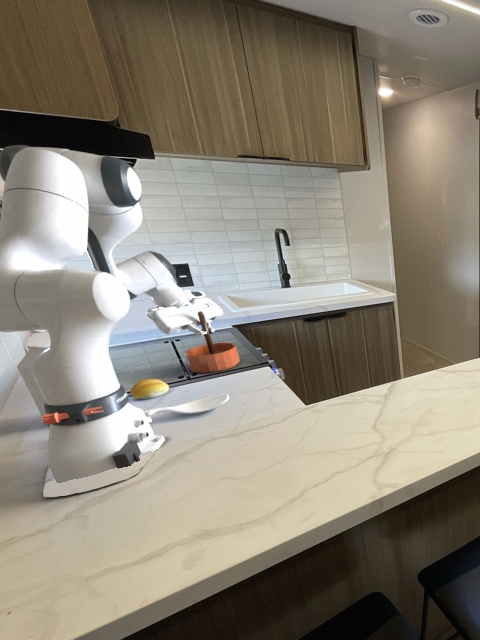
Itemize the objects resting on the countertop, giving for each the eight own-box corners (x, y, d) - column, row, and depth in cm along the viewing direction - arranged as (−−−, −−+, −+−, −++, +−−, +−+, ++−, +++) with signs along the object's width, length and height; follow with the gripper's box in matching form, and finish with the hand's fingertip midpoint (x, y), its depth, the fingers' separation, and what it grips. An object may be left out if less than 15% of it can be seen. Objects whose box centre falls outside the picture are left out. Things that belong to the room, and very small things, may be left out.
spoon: (69, 436, 94) (62, 423, 93) (228, 397, 113) (224, 386, 111) (63, 453, 88) (56, 439, 86) (233, 409, 106) (229, 397, 105)
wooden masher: (224, 361, 135) (209, 312, 128) (204, 364, 132) (188, 314, 126) (224, 356, 139) (210, 308, 133) (205, 359, 137) (190, 310, 130)
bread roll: (137, 403, 110) (132, 390, 108) (129, 394, 115) (124, 381, 114) (174, 393, 116) (169, 380, 114) (165, 385, 121) (160, 373, 120)
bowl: (240, 368, 134) (235, 351, 132) (188, 377, 127) (182, 359, 125) (240, 356, 145) (236, 340, 143) (192, 363, 138) (187, 346, 136)
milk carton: (66, 425, 99) (31, 352, 92) (44, 422, 100) (8, 350, 93) (98, 411, 106) (67, 343, 98) (77, 409, 107) (45, 341, 100)
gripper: (145, 303, 120) (181, 337, 121) (206, 290, 138) (237, 319, 140) (139, 317, 123) (174, 349, 124) (200, 302, 141) (230, 331, 142)
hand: (208, 333), depth 132 cm, fingers closed on wooden masher
